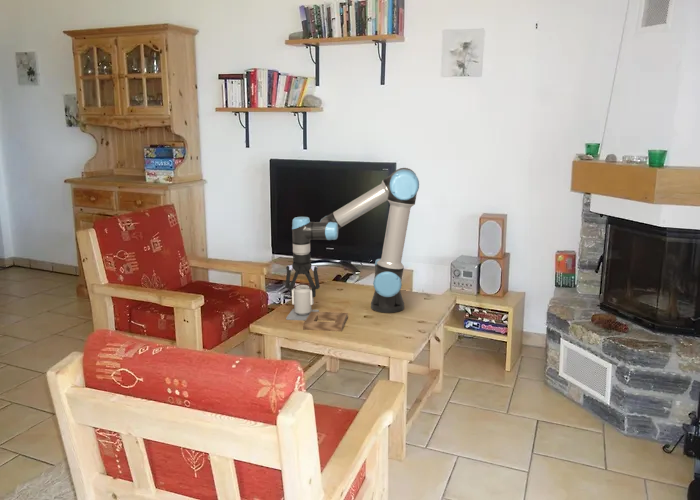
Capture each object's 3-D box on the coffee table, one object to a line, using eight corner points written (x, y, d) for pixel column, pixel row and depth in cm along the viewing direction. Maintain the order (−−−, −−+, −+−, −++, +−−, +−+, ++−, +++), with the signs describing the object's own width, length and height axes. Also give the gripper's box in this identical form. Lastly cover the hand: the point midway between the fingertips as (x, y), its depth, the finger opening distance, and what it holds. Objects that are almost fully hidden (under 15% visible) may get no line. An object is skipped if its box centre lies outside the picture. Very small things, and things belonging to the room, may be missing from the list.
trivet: (319, 311, 265) (318, 309, 265) (313, 320, 254) (313, 318, 253) (292, 310, 267) (292, 308, 267) (286, 319, 255) (286, 317, 255)
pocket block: (347, 318, 257) (347, 313, 256) (341, 331, 241) (341, 325, 241) (311, 316, 259) (311, 311, 258) (303, 329, 243) (303, 323, 243)
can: (298, 316, 255) (297, 289, 252) (291, 311, 262) (291, 285, 259) (314, 313, 258) (313, 287, 256) (307, 309, 265) (306, 283, 262)
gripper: (326, 251, 256) (327, 301, 261) (280, 250, 259) (282, 300, 264) (323, 255, 249) (324, 307, 254) (276, 254, 252) (278, 305, 257)
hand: (302, 303), depth 259 cm, fingers closed on can, 7 cm apart
